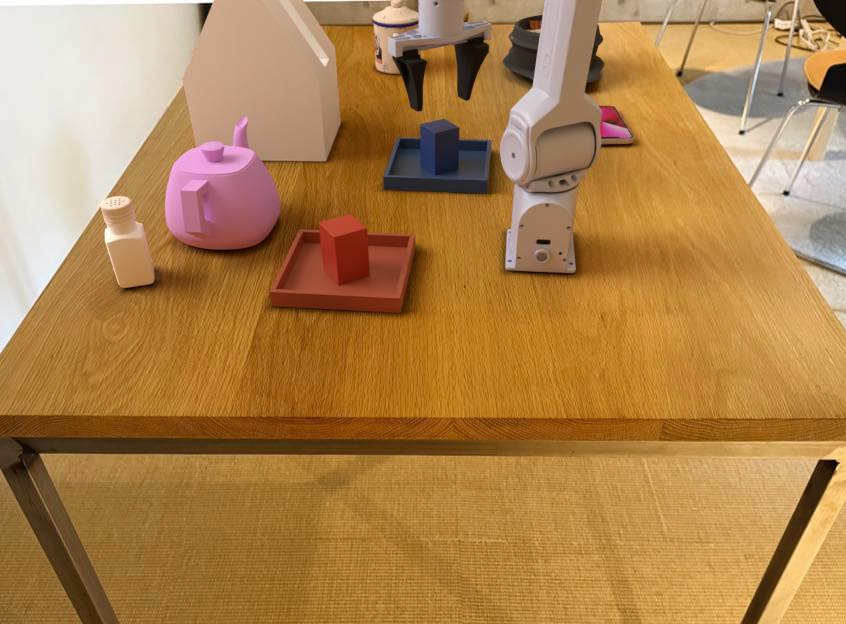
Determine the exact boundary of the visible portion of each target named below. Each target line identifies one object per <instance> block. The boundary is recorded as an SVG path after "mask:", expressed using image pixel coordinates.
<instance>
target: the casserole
mask: <svg viewBox="0 0 846 624" xmlns="http://www.w3.org/2000/svg"><path fill="white" fill-rule="evenodd" d="M542 17H543V14H539V15H532V16H531V15H530V16H528V17H527V16H526V17H523V18H521V19H519V20H517V21H516V22H515V23H514V26H513V29H512V31H511V32H510V33H509V34H508V39H509V41H510V43H511V47H510V48H509V50H508V54H507V55H506V56H505V57H504V58H503V59H502V65H503V66H504V67H505V68H506V69H507V70H508V71H510V72H512V73H514V74H517V75H520V76H522V77H525V78H528V79H530V80H531V81H533V80H534V73H535V66H536V59H537V52H538V45H539V38H540V31H541V24H542ZM603 42H604V36H603V35H602V34H601V29H600V25H599V24H598V25H597V30H596V35H595V40H594V46H593V51H592V56H591V61H590V66H589V71H588V77H587V82H586V84H591V83H594V82H597V81H598V80H600V79H601V78H602V71H603V69H604V67H605V62H604V60H603V59H602V57H600V56H598V55H597V53H598V49H599V46H600V45H602V43H603Z"/></svg>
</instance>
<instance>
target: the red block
mask: <svg viewBox="0 0 846 624" xmlns="http://www.w3.org/2000/svg"><path fill="white" fill-rule="evenodd" d="M318 230H320V240H321V250H322V259H323V269H324V271H325V272H326V273H327V274H328V275H329V276H330V277H331V278H332V279H333V280H334V281H335V282H336V283H337V284H338V285H341V284H344V283H347V282H350V281H354V280H357V279H360V278H363V277H366V276H369V275H370V270H369V253H368V236H367V232H368V227H367V226H365V224H363V222H361V221H360V220H359V219H358V218H357V217H355V216H354V215H353V214H352V213H348V214H344V215H340V216H338V217H337V216H336V217H333V218H329V219H326V220H323V221H319V222H318Z"/></svg>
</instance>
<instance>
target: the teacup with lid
mask: <svg viewBox="0 0 846 624" xmlns="http://www.w3.org/2000/svg"><path fill="white" fill-rule="evenodd" d="M371 20H372V23H373V39H374V60H375V61H374V63H375V69H376V70H377V71H379V72H381V73H383V74H388V75H389V74H390V75H401V74H400V72H399V70H398V68H397V66H396V64H395V62H394V60H393V59H392V55H390V54H389V53H388V38H389V37H394V36H397V35H401V34H403V33H406V32H409V31H412V30H415V29H418V28H419V11H416V10H412V9H410V8H409V7H408V6H406V5H403V2H402V0H391V1H390V5H388V6H386V7H385V8H384V9H382V10H379V11H378V12H375V13H374V14H373V16H372V19H371ZM421 52H422V51H418V54H420V55H421ZM421 56H422V55H421Z"/></svg>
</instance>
